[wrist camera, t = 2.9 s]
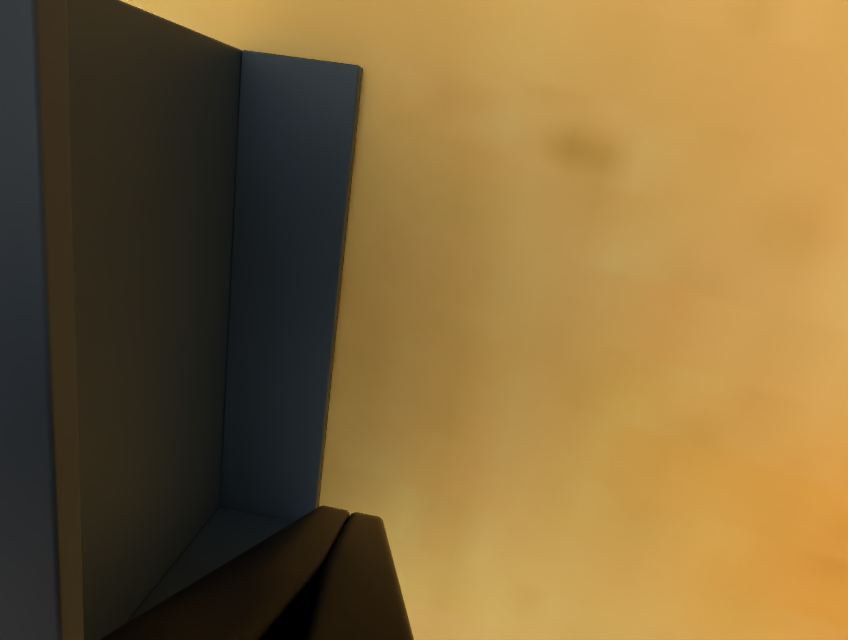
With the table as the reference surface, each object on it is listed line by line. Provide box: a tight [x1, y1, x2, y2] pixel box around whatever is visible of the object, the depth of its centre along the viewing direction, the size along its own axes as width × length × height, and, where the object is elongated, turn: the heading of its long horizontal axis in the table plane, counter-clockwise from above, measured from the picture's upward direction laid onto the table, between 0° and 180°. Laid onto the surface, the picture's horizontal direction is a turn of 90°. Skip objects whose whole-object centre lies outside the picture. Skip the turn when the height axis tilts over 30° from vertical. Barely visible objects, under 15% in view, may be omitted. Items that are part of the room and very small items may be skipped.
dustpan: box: [0, 0, 363, 640], centre depth 13 cm, size 3×20×11 cm, turn 172°
